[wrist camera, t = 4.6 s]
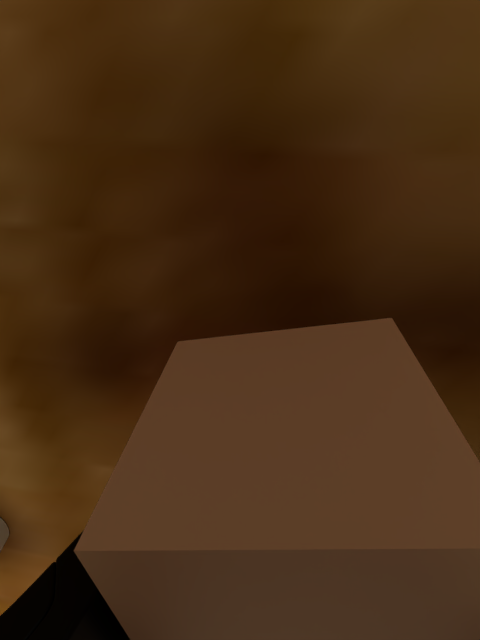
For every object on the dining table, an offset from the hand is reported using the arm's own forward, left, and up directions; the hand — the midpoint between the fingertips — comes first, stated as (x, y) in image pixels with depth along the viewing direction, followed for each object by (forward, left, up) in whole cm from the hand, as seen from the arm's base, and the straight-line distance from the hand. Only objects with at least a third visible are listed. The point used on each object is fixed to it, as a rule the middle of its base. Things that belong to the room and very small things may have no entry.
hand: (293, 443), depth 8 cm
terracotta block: (0, 0, -1) cm, 1 cm away
